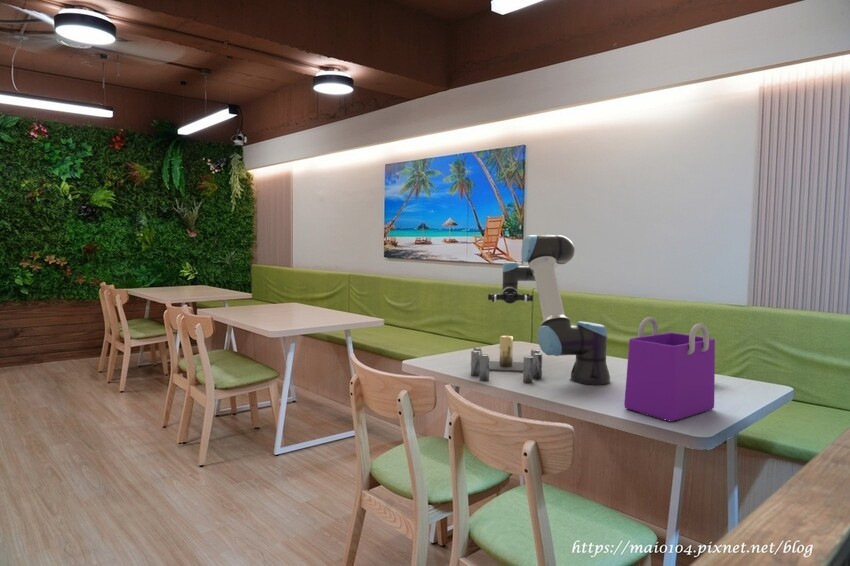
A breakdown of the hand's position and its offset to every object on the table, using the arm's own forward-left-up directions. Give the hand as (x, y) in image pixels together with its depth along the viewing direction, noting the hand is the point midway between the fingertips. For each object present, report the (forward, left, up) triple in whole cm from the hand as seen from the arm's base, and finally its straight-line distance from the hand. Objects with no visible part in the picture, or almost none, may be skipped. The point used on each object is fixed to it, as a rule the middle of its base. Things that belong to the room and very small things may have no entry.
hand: (510, 299), depth 241 cm
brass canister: (-2, +4, -29) cm, 29 cm away
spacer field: (-12, +16, -30) cm, 36 cm away
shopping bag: (-76, +9, -30) cm, 82 cm away
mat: (-2, +4, -30) cm, 30 cm away
